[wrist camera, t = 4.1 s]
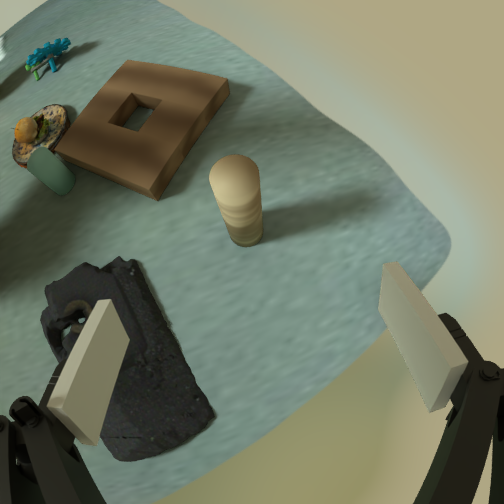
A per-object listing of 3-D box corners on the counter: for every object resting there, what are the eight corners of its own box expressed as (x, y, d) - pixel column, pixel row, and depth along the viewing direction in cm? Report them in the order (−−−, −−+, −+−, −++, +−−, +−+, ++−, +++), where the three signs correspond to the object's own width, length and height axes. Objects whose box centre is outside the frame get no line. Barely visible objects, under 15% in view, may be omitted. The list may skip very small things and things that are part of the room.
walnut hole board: (157, 201, 36) (148, 189, 33) (64, 160, 39) (53, 149, 36) (229, 93, 39) (227, 78, 37) (133, 72, 42) (127, 59, 40)
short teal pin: (65, 198, 37) (36, 175, 30) (51, 190, 37) (22, 167, 31) (79, 176, 38) (52, 149, 31) (64, 169, 38) (38, 143, 31)
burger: (83, 115, 41) (62, 86, 34) (40, 177, 38) (11, 153, 31) (45, 105, 43) (25, 81, 36) (7, 159, 41) (-18, 138, 33)
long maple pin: (254, 252, 33) (245, 205, 22) (223, 238, 34) (200, 186, 22) (268, 223, 34) (267, 164, 22) (238, 210, 35) (223, 148, 23)
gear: (77, 37, 46) (53, 33, 37) (84, 59, 49) (61, 57, 40) (38, 63, 47) (12, 64, 39) (45, 84, 50) (20, 88, 42)
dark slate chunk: (116, 467, 28) (97, 481, 23) (40, 306, 33) (17, 300, 29) (226, 420, 29) (219, 433, 24) (131, 244, 35) (113, 231, 30)
